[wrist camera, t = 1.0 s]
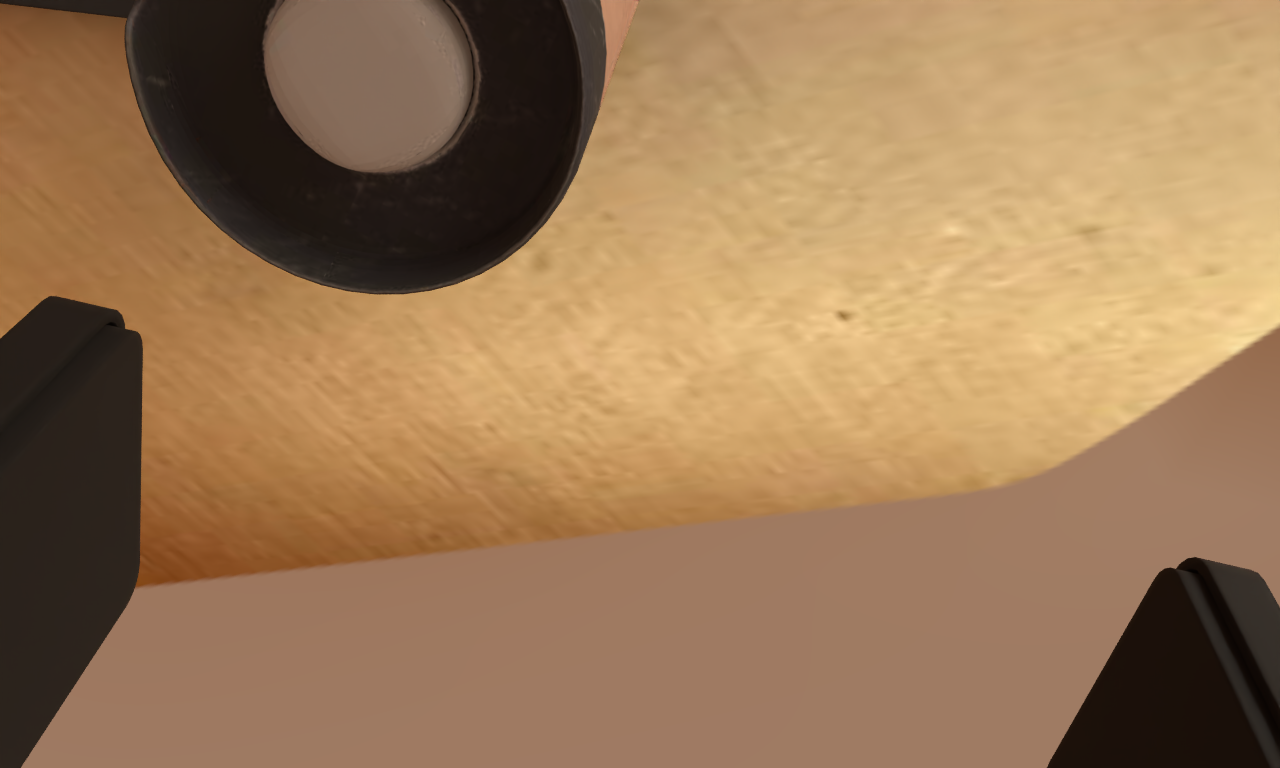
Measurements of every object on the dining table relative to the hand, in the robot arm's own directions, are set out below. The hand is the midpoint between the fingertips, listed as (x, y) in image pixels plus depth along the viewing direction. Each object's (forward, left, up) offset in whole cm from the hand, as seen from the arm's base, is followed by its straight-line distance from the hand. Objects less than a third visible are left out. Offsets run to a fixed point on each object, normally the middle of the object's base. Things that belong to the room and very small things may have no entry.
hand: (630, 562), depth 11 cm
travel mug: (-1, -5, -30) cm, 31 cm away
